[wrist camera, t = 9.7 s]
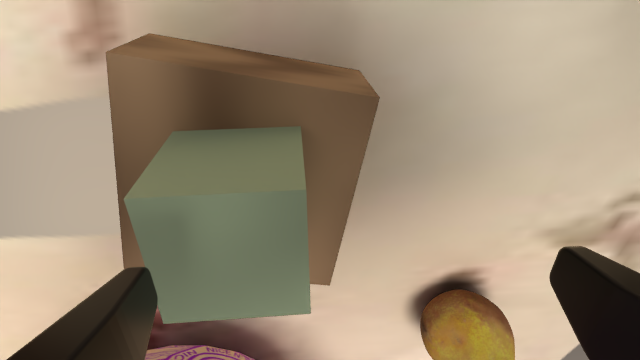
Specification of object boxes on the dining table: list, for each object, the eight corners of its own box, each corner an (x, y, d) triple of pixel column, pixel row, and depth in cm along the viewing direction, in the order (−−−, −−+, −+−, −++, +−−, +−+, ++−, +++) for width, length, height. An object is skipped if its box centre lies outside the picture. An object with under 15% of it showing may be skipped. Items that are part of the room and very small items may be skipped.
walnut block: (358, 69, 19) (379, 97, 14) (321, 227, 23) (329, 285, 19) (151, 32, 17) (106, 52, 13) (156, 209, 22) (123, 268, 18)
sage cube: (300, 126, 15) (306, 189, 10) (304, 227, 17) (310, 313, 13) (172, 131, 14) (123, 198, 10) (195, 233, 17) (163, 323, 13)
